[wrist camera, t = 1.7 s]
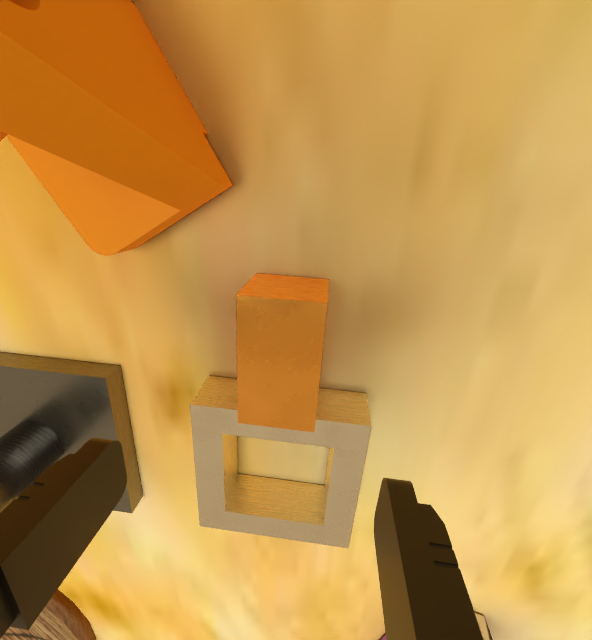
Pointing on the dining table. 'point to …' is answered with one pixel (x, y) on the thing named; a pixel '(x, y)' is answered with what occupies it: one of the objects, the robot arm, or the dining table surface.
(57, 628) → the trivet
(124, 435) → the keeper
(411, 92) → the dining table surface
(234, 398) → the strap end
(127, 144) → the bracket
